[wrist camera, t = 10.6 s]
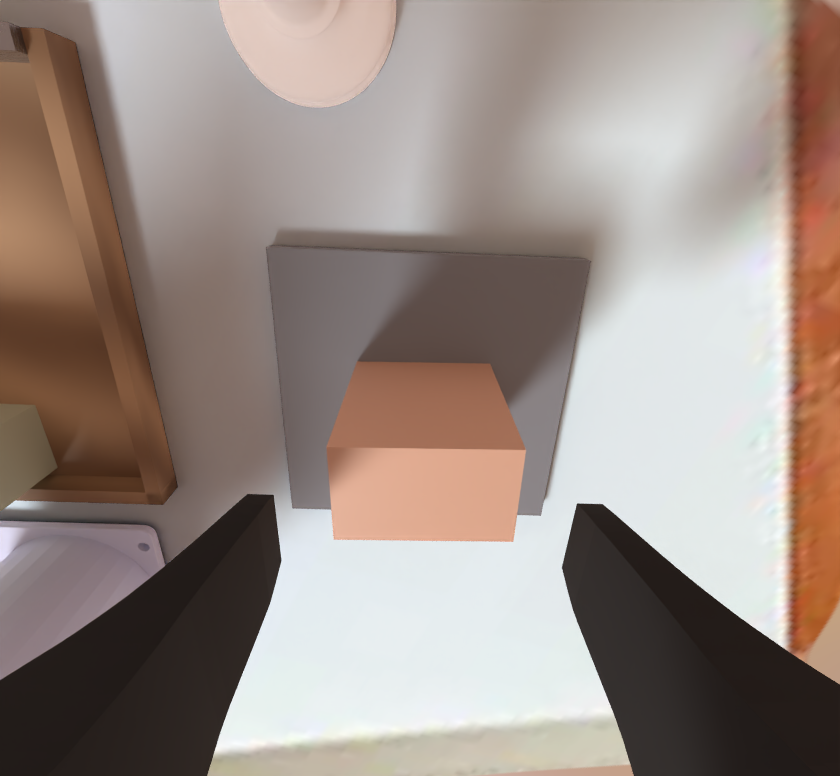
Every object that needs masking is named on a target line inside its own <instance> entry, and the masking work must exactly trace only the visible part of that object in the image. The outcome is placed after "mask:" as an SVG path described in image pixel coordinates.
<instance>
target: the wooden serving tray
mask: <svg viewBox="0 0 840 776" xmlns="http://www.w3.org/2000/svg"><path fill="white" fill-rule="evenodd" d="M0 404H23V405H35V406H36V409H37V411H38V414H39V417H40V420H41V422H42V425H43V428H44V431H45V433H46V436H47V439H48V442H49V445H50V447H51V450H52V453H53V456H54V458H55V461H56V464H57V467H58V468H56V469H55V470H54V471H52V472H51V473H50V474H49V475H47V476H46V477H45V478H43V479H42V480H41V481H39V482H38V483H37V484H36V485H34V486H33V487H32V488H30V489H29V490H28V491H26V492H25V493H24V494H23V495H21V496H20V497H19V498H17V499H16V500H20V501H54V502H88V503H122V504H157V505H163V504H164V503H165V502H166V501H167V499H168V498H169V497H170V496H171V494H172V493H173V492H174V491H175V490H176V488H177V482H176V478H175V474H174V469H173V465H172V461H171V456H170V452H169V448H168V443H167V439H166V435H165V430H164V426H163V422H162V417H161V413H160V409H159V404H158V400H157V396H156V391H155V387H154V383H153V378H152V374H151V370H150V365H149V361H148V357H147V352H146V348H145V344H144V339H143V335H142V331H141V326H140V322H139V318H138V313H137V309H136V304H135V300H134V296H133V291H132V287H131V283H130V278H129V274H128V270H127V265H126V261H125V257H124V252H123V248H122V244H121V239H120V235H119V231H118V226H117V222H116V218H115V213H114V209H113V205H112V200H111V196H110V192H109V187H108V183H107V179H106V174H105V170H104V166H103V161H102V157H101V153H100V148H99V144H98V140H97V135H96V131H95V127H94V122H93V118H92V114H91V109H90V105H89V101H88V96H87V92H86V88H85V83H84V79H83V75H82V70H81V66H80V62H79V57H78V53H77V48H76V44H75V42H73V41H71V40H68V39H66V38H64V37H62V36H59V35H57V34H55V33H52V32H50V31H48V30H45V29H42V28H23V27H18V26H16V25H13V24H11V23H9V22H0Z"/></svg>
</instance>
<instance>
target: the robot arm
mask: <svg viewBox="0 0 840 776" xmlns="http://www.w3.org/2000/svg"><path fill="white" fill-rule="evenodd" d="M145 543H146V544H145ZM280 564H281V553H280V545H279V537H278V528H277V520H276V512H275V503H274V495H258V494H247V495H246V496H245V497H244V498H243V499H241V500H240V501H239V502H238V503H237V504H236V505H235V506H233V507H232V508H231V509H230V510H229V511H228V512H227V513H226V514H224V515H223V516H222V517H221V518H220V519H219V520H218V521H217V522H215V523H214V524H213V525H212V526H211V527H210V528H209V529H208V530H206V531H205V532H204V533H203V534H202V535H201V536H200V537H199V538H197V539H196V540H195V541H194V542H193V543H192V544H190V545H189V546H188V547H187V548H186V549H185V550H183V551H182V552H181V553H180V554H179V555H178V556H176V557H175V558H174V559H173V560H172V561H171V562H169V563H168V564H167V565H166V566H165V563H164V559H163V555H162V552H161V548H160V544H159V541H158V537H157V533H156V531H155V530H154V529H153V528H152V527H150V526H147V525H130V524H95V523H60V522H24V521H0V776H207V774H208V771H209V767H210V764H211V761H212V758H213V754H214V751H215V748H216V744H217V741H218V738H219V734H220V731H221V729H222V726H223V723H224V720H225V717H226V715H227V712H228V709H229V706H230V704H231V701H232V699H233V696H234V694H235V691H236V689H237V686H238V683H239V681H240V678H241V676H242V673H243V671H244V668H245V666H246V663H247V661H248V658H249V656H250V653H251V651H252V648H253V646H254V643H255V641H256V638H257V636H258V633H259V630H260V628H261V625H262V623H263V620H264V618H265V615H266V612H267V610H268V607H269V605H270V601H271V598H272V594H273V591H274V587H275V583H276V580H277V576H278V572H279V568H280ZM562 569H563V573H564V577H565V581H566V585H567V590H568V593H569V597H570V601H571V604H572V608H573V611H574V614H575V616H576V619H577V622H578V624H579V627H580V629H581V632H582V635H583V637H584V640H585V642H586V645H587V647H588V650H589V652H590V655H591V657H592V660H593V662H594V665H595V667H596V670H597V673H598V675H599V678H600V680H601V683H602V685H603V688H604V690H605V693H606V695H607V698H608V700H609V703H610V705H611V708H612V710H613V713H614V716H615V718H616V721H617V724H618V727H619V730H620V732H621V735H622V738H623V741H624V744H625V748H626V751H627V754H628V758H629V761H630V764H631V767H632V771H633V774H634V776H840V684H838V683H836V682H835V681H833V680H831V679H830V678H828V677H827V676H825V675H823V674H822V673H820V672H819V671H817V670H815V669H814V668H812V667H811V666H809V665H808V664H806V663H805V662H803V661H802V660H800V659H799V658H797V657H796V656H794V655H793V654H791V653H790V652H788V651H787V650H785V649H784V648H782V647H781V646H779V645H778V644H777V643H775V642H774V641H772V640H771V639H769V638H768V637H766V636H765V635H764V634H762V633H761V632H759V631H758V630H756V629H755V628H753V627H752V626H751V625H749V624H748V623H747V622H745V621H744V620H742V619H741V618H740V617H738V616H737V615H736V614H734V613H733V612H732V611H730V610H729V609H728V608H726V607H725V606H724V605H723V604H721V603H720V602H719V601H717V600H716V599H715V598H713V597H712V596H711V595H710V594H708V593H707V592H706V591H704V590H703V589H702V588H701V587H699V586H698V585H697V584H696V583H694V582H693V581H692V580H691V579H689V578H688V577H687V576H686V575H685V574H683V573H682V572H681V571H680V570H679V569H677V568H676V567H675V566H674V565H673V564H671V563H670V562H669V561H668V560H667V559H666V558H664V557H663V556H662V555H661V554H660V553H659V552H657V551H656V550H655V549H654V548H653V547H652V546H650V545H649V544H648V543H647V542H646V541H645V540H644V539H642V538H641V537H640V536H639V535H638V534H637V533H636V532H634V531H633V530H632V529H631V528H630V527H629V526H628V525H626V524H625V523H624V522H623V521H622V520H621V519H620V518H618V517H617V516H616V515H615V514H614V513H612V512H611V511H610V510H609V509H608V508H606V507H605V506H604V505H603V504H577V506H576V510H575V515H574V519H573V523H572V527H571V532H570V536H569V540H568V544H567V549H566V553H565V557H564V561H563V566H562Z"/></svg>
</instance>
